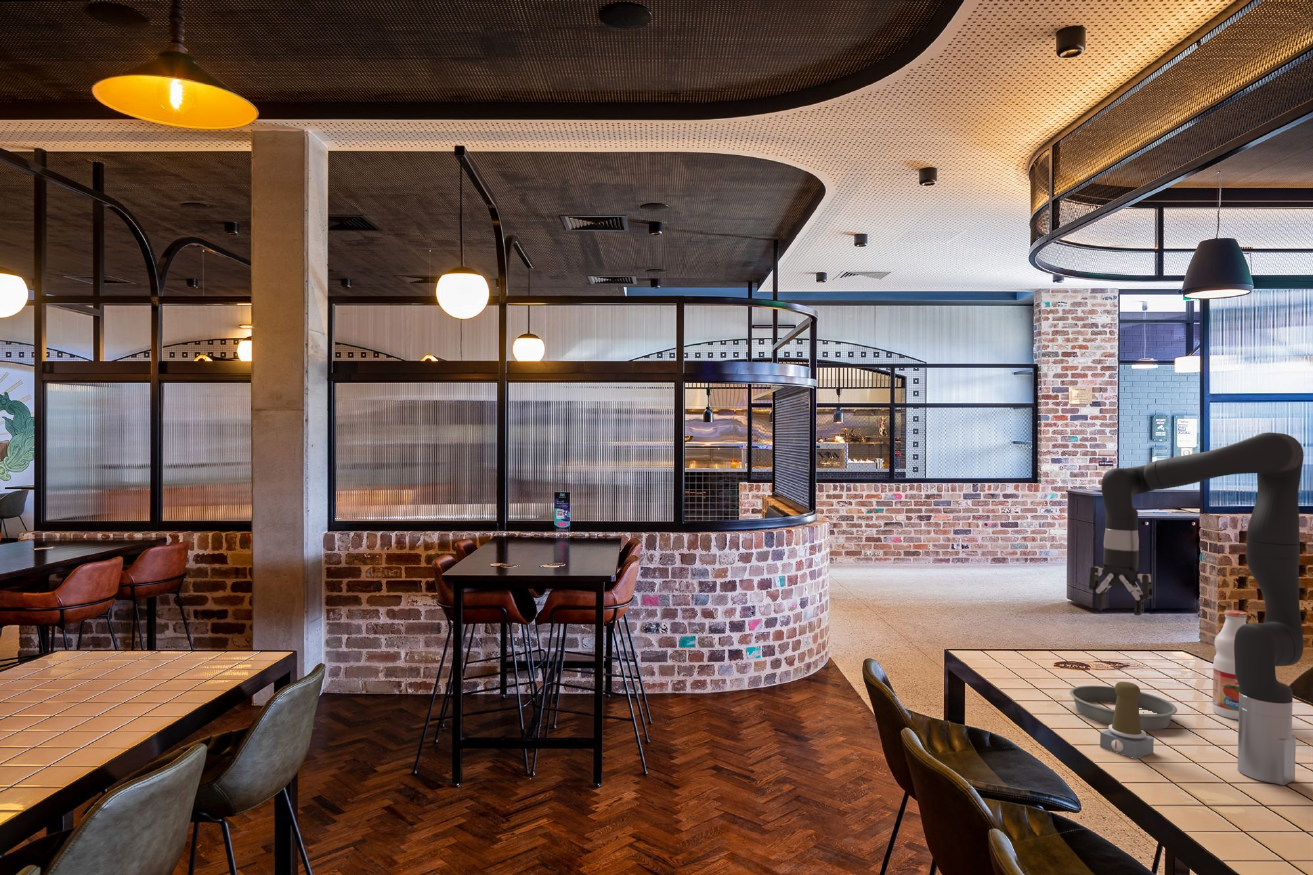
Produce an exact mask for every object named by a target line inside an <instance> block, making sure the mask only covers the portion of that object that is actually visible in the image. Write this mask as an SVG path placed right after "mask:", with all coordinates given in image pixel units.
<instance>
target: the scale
mask: <svg viewBox="0 0 1313 875" xmlns="http://www.w3.org/2000/svg"><path fill="white" fill-rule="evenodd" d="M1141 732H1142V733H1141V734H1138V735H1132V734H1126V733H1121V732H1118V731H1116V730H1114V729H1113V728H1112V724H1111V725H1110V724H1108V729H1106V730H1103V731H1100V734H1099V737H1100V738H1099V740H1100V741H1099V748H1101V749H1104V748H1105V749H1104V750H1107V751H1110V750H1112V751H1111V752H1113V751H1114V753H1116V752H1118V753H1117V754H1119V753H1120V755H1122V754H1124V755H1123V756H1125V755H1126V756H1125V757H1128V756H1129V757H1128V758H1130V757H1133V758H1134V759H1133V758H1132V759H1133V760H1138V759H1140V758H1139V757H1141V758H1143V757H1145V756H1144V755H1146V756H1148V755H1147V754H1149V755H1151V754H1153V753H1154V744H1155V740H1154V739H1155V738H1154V737H1152V736H1150V735H1147V733H1146V730H1141ZM1142 756H1143V757H1142ZM1137 758H1138V759H1137Z"/></svg>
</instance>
